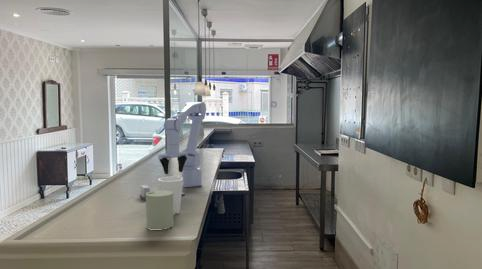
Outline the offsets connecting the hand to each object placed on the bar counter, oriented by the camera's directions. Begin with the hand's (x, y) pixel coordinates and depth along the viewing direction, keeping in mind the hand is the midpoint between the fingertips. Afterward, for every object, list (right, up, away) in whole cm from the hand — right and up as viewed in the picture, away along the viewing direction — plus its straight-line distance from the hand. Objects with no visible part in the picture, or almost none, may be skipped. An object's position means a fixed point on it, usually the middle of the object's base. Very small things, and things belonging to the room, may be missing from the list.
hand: (173, 172), depth 168 cm
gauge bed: (-4, -10, -5) cm, 12 cm away
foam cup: (+5, -12, -31) cm, 33 cm away
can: (+4, -13, -47) cm, 49 cm away
